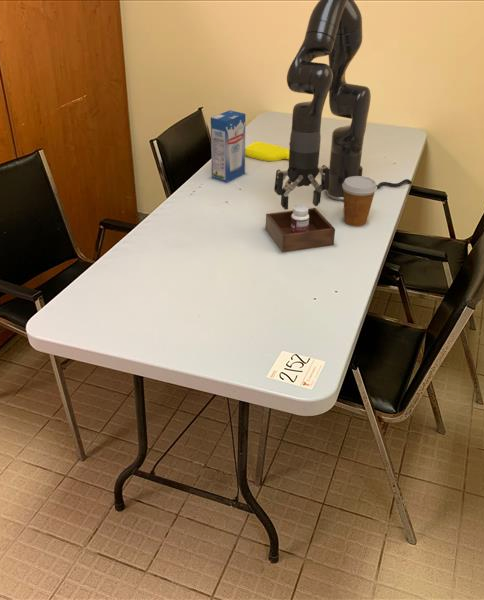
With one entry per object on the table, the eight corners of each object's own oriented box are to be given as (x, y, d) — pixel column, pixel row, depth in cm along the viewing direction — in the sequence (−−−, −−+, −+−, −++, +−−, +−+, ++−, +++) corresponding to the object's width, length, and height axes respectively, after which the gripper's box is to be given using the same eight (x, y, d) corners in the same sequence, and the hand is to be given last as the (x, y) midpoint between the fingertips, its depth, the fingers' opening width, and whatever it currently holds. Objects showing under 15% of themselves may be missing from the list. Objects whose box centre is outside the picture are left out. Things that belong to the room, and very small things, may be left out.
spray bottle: (256, 147, 221) (317, 160, 212) (241, 156, 213) (304, 170, 204) (256, 140, 220) (318, 152, 210) (241, 148, 212) (305, 162, 202)
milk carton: (226, 182, 194) (226, 121, 183) (211, 178, 197) (210, 117, 186) (244, 173, 201) (245, 113, 189) (230, 169, 204) (230, 110, 192)
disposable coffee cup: (351, 211, 177) (356, 172, 170) (378, 221, 171) (384, 182, 164) (331, 221, 171) (335, 181, 165) (358, 232, 166) (364, 191, 159)
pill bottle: (288, 232, 165) (290, 204, 160) (305, 231, 165) (308, 203, 160) (291, 240, 161) (293, 212, 156) (309, 239, 161) (311, 211, 156)
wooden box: (314, 223, 170) (315, 207, 168) (333, 245, 159) (335, 228, 157) (265, 229, 167) (265, 213, 164) (282, 252, 156) (282, 236, 153)
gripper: (283, 154, 144) (279, 215, 153) (337, 149, 148) (331, 209, 157) (272, 144, 150) (270, 203, 159) (325, 139, 154) (319, 198, 163)
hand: (300, 206), depth 158 cm, fingers open, 8 cm apart
